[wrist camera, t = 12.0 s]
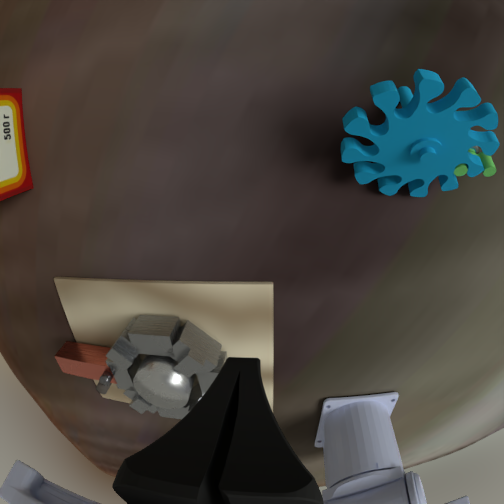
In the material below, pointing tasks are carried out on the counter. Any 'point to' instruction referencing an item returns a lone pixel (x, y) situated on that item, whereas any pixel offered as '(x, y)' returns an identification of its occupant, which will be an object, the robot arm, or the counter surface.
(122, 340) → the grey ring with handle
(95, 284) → the mounting board
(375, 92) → the gear
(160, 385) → the grey metal ball
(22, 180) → the baking soda box
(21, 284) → the counter surface
